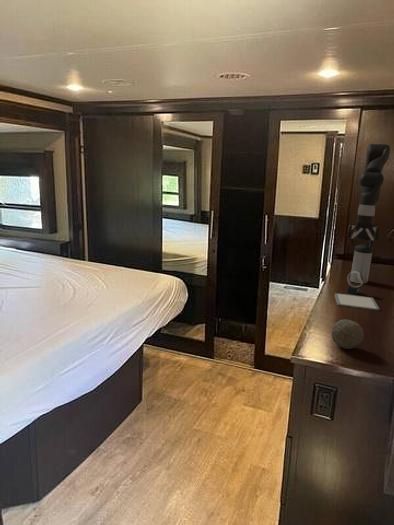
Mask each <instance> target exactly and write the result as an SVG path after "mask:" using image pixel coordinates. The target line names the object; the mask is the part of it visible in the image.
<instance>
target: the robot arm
mask: <svg viewBox="0 0 394 525" xmlns="http://www.w3.org/2000/svg"><path fill="white" fill-rule="evenodd" d="M390 153H391V146H390V145H389V144H385V143H371V144H368V146H367V151H366V156H365V166H364V170H363V172H361V175H360V176H359V179H358V182H359V183H358V184H359V185H360V186H361V193H360V198H359V206H358V209H357V210H358V211H357V215H356V216H357V217H356V222H355V225H353V224H349V225H348V228H347V233H346V236H347V238H349V239H350V240H349V245H350V247H353V246H354V242H355V241H354V239H355V240H356V239H357V240H362V241H367V242H365V243H362V244H358V245H356V246H355V247H354V252H353V258H352V259H353V260H352V265H351V271H350V273H351V272H354V271H356V272H359V273H361V274H362V276H363V279H364V282H363V284H367V283H368V279H369V275H370V269H371V262H372V256H373V252H374V250H373V249H374V243H375V241H377V240H379V234H380V227H379V226H377V225H376V223H374V219H375V212H376V204H377V202H378V201H379V199H380V193H381V187H382V185H383V184H384V179H385V176H384V174H383V173H382V172H383V168H384V166H385V165H386V163H387V162H388V160H389V158H390ZM352 230H354V232H353V233H352ZM349 279H350V282H351V283H352V282H353V283H356V284H361V282H360V281H359V279H358V276H357V273H351V274H350V276H349Z"/></svg>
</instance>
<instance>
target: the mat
mask: <svg viewBox="0 0 394 525" xmlns="http://www.w3.org/2000/svg"><path fill="white" fill-rule="evenodd" d="M334 294H335V295H334V298H335V301H336V304H337V306H339V307H344V308H345V307H347V308H356V309H362V310H369V311H370V310H371V311H378V312H380V311H381V309H380V307H379V306H378V304H377V302H376V300H375V299H374V298H373V297H369V296H362V295H355V294H347V293H339V292H338V293H337V292H334Z"/></svg>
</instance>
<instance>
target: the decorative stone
mask: <svg viewBox="0 0 394 525" xmlns="http://www.w3.org/2000/svg"><path fill="white" fill-rule="evenodd" d="M364 335H365V334H364V329H363V328H362V326H361V325H360V324H359V322H356V321H353V320H350V319H345V318H344V319H343V318H342V319H340V320H338V321H337V322H335V324H334V325H333V327H332V329H331V338H332V340H333V342H334V343H335V344H336V346H337V347H339V348H341V349H344V350H351V349H354V348H356V347H357V346H359V345H360V343H361V342H362V341H363V340H364Z"/></svg>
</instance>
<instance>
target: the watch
mask: <svg viewBox="0 0 394 525" xmlns="http://www.w3.org/2000/svg"><path fill="white" fill-rule="evenodd" d="M351 273H357V276H358V279H359V281H360V282H361V283H360V285H355V284H354V285H353V284H352V281H350V276H351ZM346 280H347V283H348V285H349V286H348V289H347V293H348V294H349V295H355V294H356V295H355V296H358V294H359V292H360V287H361V286H362V285H364V283H363V282H364V279H363V276H362V274H361V273H359V272H356V271H354V272H351V271H350V272H349V273H348V275H347V277H346Z"/></svg>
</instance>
